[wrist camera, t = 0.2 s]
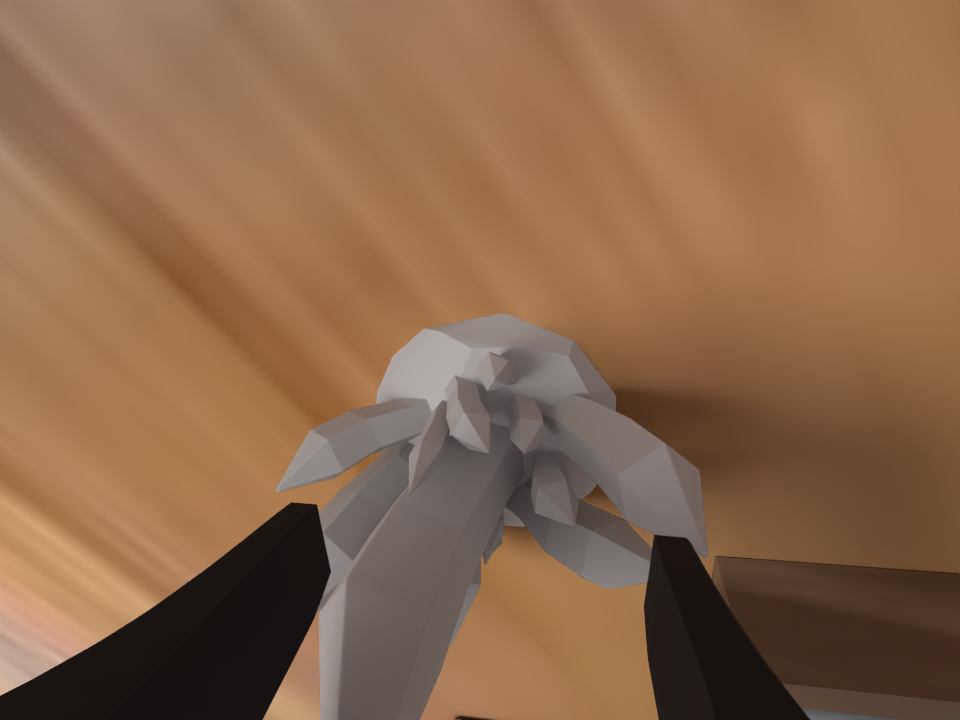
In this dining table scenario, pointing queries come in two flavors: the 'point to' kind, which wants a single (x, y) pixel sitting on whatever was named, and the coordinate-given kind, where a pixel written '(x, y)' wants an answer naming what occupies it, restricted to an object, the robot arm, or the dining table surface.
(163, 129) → the dining table surface
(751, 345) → the dining table surface
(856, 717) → the trapdoor
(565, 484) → the crystal
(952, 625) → the frame
